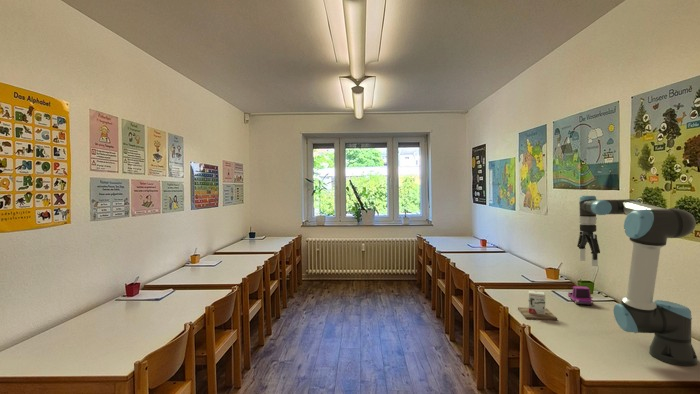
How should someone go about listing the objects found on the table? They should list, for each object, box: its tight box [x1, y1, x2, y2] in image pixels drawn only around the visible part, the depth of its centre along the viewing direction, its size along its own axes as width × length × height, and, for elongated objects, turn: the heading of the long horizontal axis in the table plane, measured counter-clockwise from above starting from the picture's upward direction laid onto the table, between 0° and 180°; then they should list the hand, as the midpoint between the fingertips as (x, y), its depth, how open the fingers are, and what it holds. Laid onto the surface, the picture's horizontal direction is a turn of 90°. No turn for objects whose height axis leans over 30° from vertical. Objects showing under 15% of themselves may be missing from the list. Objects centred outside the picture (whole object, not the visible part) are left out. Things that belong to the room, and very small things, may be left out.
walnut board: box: [517, 306, 558, 321], centre depth 204 cm, size 16×16×1 cm
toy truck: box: [567, 285, 594, 306], centre depth 224 cm, size 11×16×10 cm
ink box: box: [527, 290, 546, 315], centre depth 204 cm, size 9×5×12 cm, turn 66°
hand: (588, 263), depth 192 cm, fingers open, 13 cm apart
